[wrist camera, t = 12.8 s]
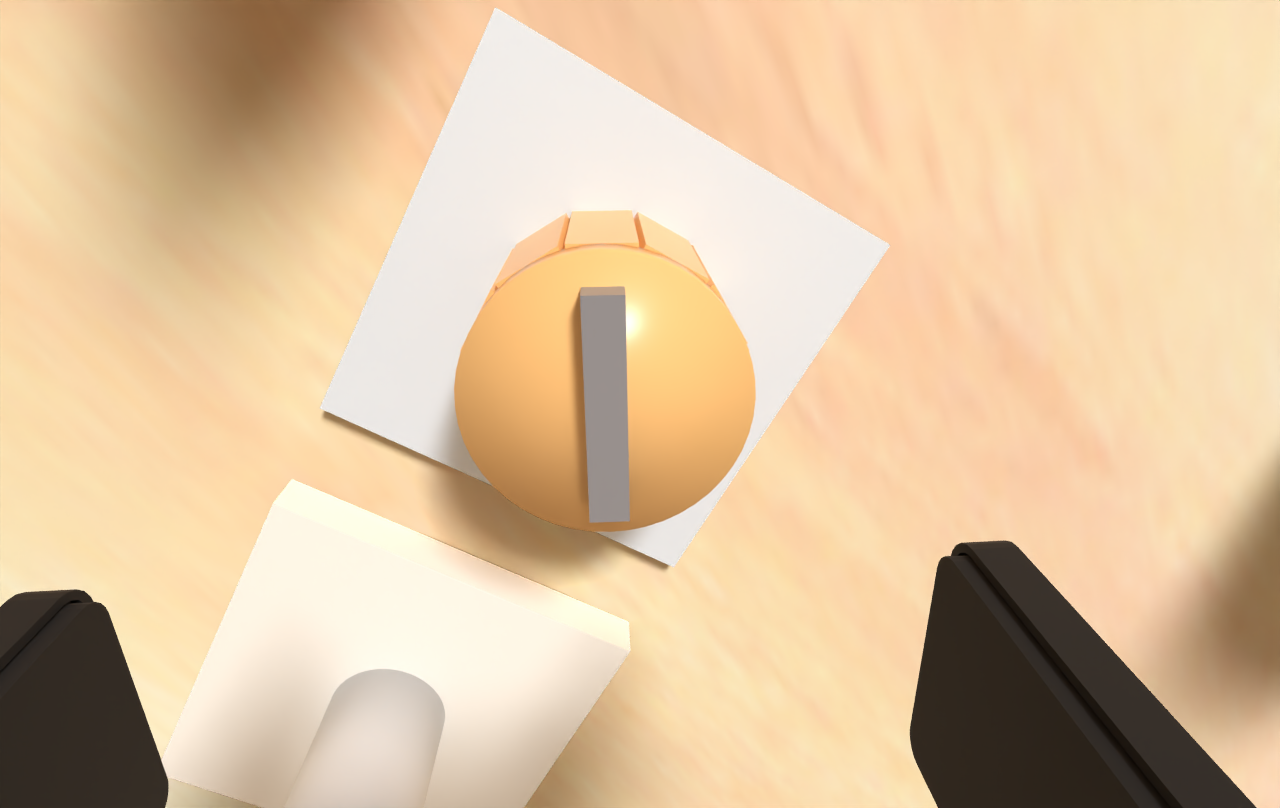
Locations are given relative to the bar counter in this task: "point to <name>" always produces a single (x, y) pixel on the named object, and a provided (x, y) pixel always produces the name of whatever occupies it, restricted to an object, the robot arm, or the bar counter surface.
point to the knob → (604, 375)
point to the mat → (561, 183)
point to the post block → (386, 671)
